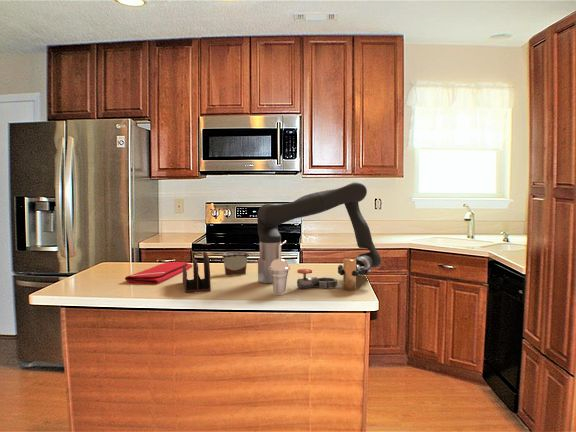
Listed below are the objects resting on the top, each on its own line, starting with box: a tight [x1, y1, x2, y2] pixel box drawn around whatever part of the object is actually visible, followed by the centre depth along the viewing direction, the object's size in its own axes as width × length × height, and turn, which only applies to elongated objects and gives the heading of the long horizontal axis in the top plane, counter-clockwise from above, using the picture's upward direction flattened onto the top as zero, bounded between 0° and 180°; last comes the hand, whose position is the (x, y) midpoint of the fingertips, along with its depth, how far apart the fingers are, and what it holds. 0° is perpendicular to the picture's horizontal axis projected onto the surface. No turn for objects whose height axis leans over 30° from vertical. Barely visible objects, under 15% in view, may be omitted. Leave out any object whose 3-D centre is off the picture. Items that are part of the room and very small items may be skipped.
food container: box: [222, 251, 249, 276], centre depth 232 cm, size 12×6×10 cm, turn 108°
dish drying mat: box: [124, 261, 193, 285], centre depth 230 cm, size 16×41×4 cm, turn 171°
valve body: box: [296, 268, 338, 290], centre depth 204 cm, size 18×9×7 cm, turn 116°
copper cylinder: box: [342, 258, 357, 292], centre depth 199 cm, size 5×5×12 cm
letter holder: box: [182, 251, 212, 294], centre depth 204 cm, size 10×20×14 cm, turn 15°
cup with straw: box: [268, 240, 291, 296], centre depth 192 cm, size 8×9×20 cm
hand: (347, 273), depth 197 cm, fingers closed on copper cylinder, 5 cm apart
